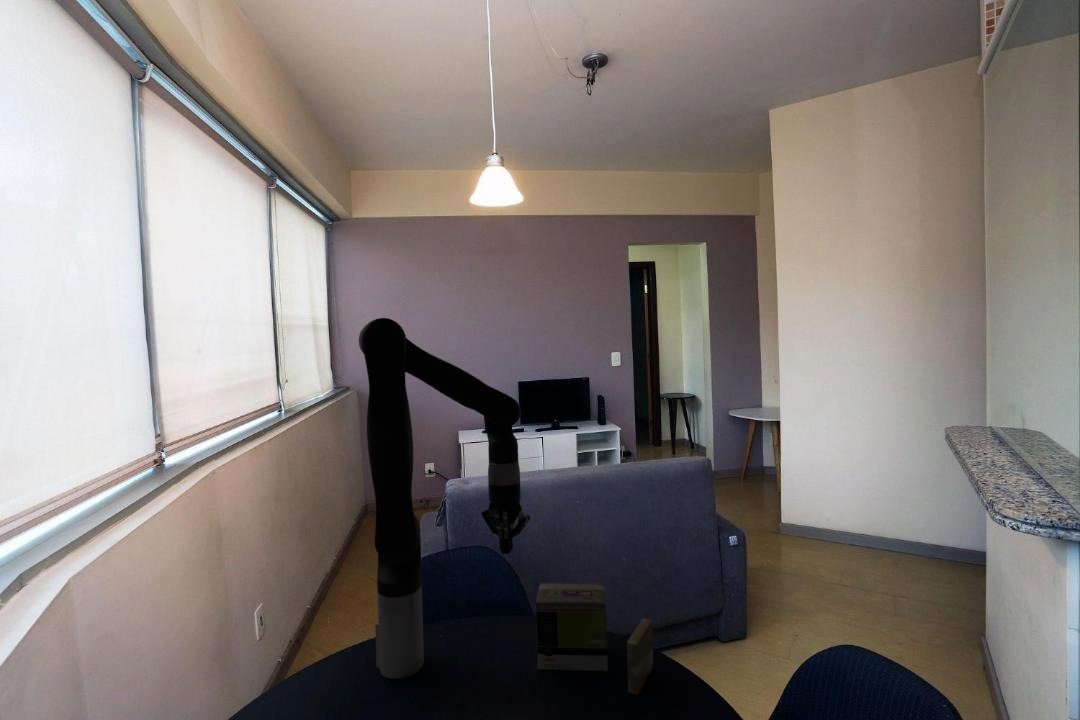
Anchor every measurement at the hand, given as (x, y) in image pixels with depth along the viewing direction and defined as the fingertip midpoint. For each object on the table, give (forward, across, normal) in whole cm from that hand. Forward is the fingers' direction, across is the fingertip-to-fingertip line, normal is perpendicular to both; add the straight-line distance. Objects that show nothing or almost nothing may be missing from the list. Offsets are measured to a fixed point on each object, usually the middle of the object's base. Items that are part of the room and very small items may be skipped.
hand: (506, 552), depth 118 cm
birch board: (+20, +32, 0) cm, 38 cm away
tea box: (+20, +17, 0) cm, 27 cm away
